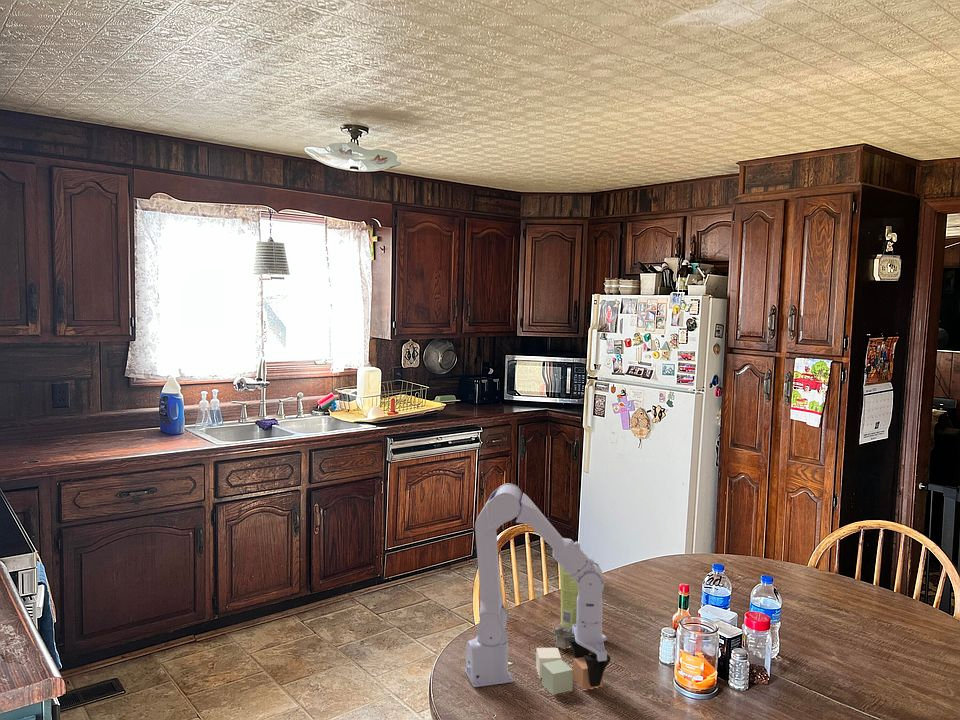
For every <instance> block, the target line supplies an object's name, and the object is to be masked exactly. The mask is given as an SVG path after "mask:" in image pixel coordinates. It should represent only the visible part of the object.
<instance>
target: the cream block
mask: <svg viewBox="0 0 960 720" xmlns="http://www.w3.org/2000/svg"><path fill="white" fill-rule="evenodd" d="M535 653H536V654H535V655H536V656H535V658H536V659H535V666H536V667H535V670H536V669H537V670H536V672H538V673H537V675H539V677H538V679H539V678H542V664H543V663H547V662H552V661H557V660H562V656H561V653H560V650H559V648H556V647H536V651H535Z"/></svg>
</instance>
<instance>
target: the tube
mask: <svg viewBox="0 0 960 720" xmlns="http://www.w3.org/2000/svg"><path fill="white" fill-rule="evenodd" d="M558 565H559V569H558V570H559V580H560V583H559V584H560V585H559V586H560V625H561V624H562V625H563V626H566V627H572V625H573V624H576V618H577V597H578V588H577V581H576V580H575V579H573V578H572V577H571V576H570V575H569V574H568V573H567V572H566V571H565V570H564V569H563V568H562V566H561V565H560V564H559V563H558Z"/></svg>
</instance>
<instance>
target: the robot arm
mask: <svg viewBox="0 0 960 720" xmlns="http://www.w3.org/2000/svg"><path fill="white" fill-rule="evenodd" d="M515 518H516V519H515ZM514 519H515V523H516V524H526V525H529V526H530V527H531V528H532V529H533V531H535V532H536V534H538V536H540V537H541V538H542V539H543V541H545V542H546V543H547V544H548V546H550V548H552V558H554V560H555V561H556V562H557V564H558V565H559V564H560V565H561V566H562V568H563V569H564V570H565V571H566V572H567V573H568V574H569V575H570V576H571V577H572V578H573V579H575V580H576V581H577V588H578V597H577V618H576V624H573V625H572V633H573V634H574V635H575V636H574V637H570V638H568V641H569V643H570V645H571V648H570V649H571V650H572V653H573V659H574V658H582V657H584V659H585V661H586V664H587V668H588V674H589V683H590V686H591V687H594V686H600V683H601V679H602V676H603V677H604V673H605V670H606V668H607V667H608V665H609V663H610V662H611V656H610V655H609V654H608V651H607V650H606V649H605V644H604V642H605V641H607V636H606V635H605V634H603V608H604V607H603V598H602V597H603V592H604V588H605V583H604V575H603V571H602V569H601V566H599V563H598V562H595V560H594V559H592V558H591V559H590V558H589V557H588V556H587V554H586V553H584V551H583V550H582V549H581V543H579V541H577V540H576V541H574V540H572V539H571V538H565V537H563V536H562V535H561V534H560V533H559V532H558V530H557V529H556V528H555V527H554V526H553V524H552V523H551V522H550V521H549V520H548V518H547V517H546V516H545V514H543V513H542V511H541V510H540V508H538V506H537V505H536V504H535V503H534V501H532V499H531V498H530V497H529V496H528V495H527V494H526V493H524V492H522V490H521V489H520V488H519V487H518V485H516V484H513V483H512V482H511V483H509V482H508V483H504V484H502V485H500V486H499V487H498V488H497V487H496V489H495V490H494V491H493V492H492V493H491V494H490V496H489V498H488V499H487V501H486V503H485V505H484V506H483V508H482V509H481V511H480V513H479V514H478V516H477V518H476V520H475V523H474V530H475V544H476V555H477V557H476V558H477V568H478V569H477V571H478V582H479V583H478V584H479V595H480V596H479V598H480V600H479V601H480V604H479V607H480V608H479V621H478V624H477V625H476V626H477V627H476V637H475V638H473V639H471V640H470V639H469V640H467V641H466V644H465V669H464V672H465V673H466V675H467V677H468V680H469V681H470V683H471V685H472V687H473V688H479V687H485V686H494V685H495V686H496V685H499V684H500V685H502V684H508V683H513V682H514V678H513V677H512V674H511V673H510V671H508V670H509V635H508V633H507V632H506V627H507V626H506V625H507V622H508V619H509V614H508V613H509V612H508V610H507V608H506V607H505V605H504V598H503V594H502V589H501V574H500V563H499V548H498V547H499V546H498V535H497V530H498V529H500V527H501V526H503V524H505V523H508V522H510V521H512V520H514ZM589 650H590V651H589ZM590 652H592V653H591V654H590Z"/></svg>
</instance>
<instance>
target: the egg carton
mask: <svg viewBox="0 0 960 720" xmlns="http://www.w3.org/2000/svg"><path fill="white" fill-rule="evenodd" d="M553 630H554V635H553V636H554V637H553V639H554V641H555V640H556V642H555V647H556V646H558V647H561V648H566V647H569V646H571V645H570V643H569V641H568V638H570V637H572V636H575V635H574V634H573V633H572V627H566V626H561V625H558V626H556V627H555V628H554V629H553Z"/></svg>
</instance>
